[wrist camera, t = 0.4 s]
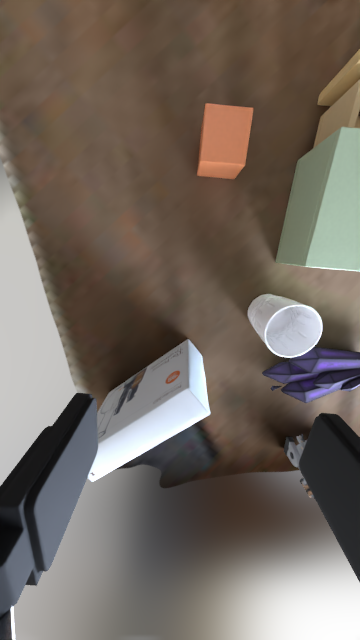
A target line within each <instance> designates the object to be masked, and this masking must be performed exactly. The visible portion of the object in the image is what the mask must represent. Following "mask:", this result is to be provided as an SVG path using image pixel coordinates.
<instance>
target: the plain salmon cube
mask: <svg viewBox="0 0 360 640" xmlns="http://www.w3.org/2000/svg"><path fill="white" fill-rule="evenodd" d="M253 110H254V108H248V107H238V106H228V105H219V104H209V103H206V104H205V110H204V116H203V122H202V128H201V137H200V148H199V158H198V169H197V176H206V177H216V178H227V179H235V178H236V176H237V175H238V174H239V172H240V171H241V170H242V168H243V167H244V166H245V162H246V155H247V149H248V142H249V136H250V129H251V123H252V116H253Z"/></svg>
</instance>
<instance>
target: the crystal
mask: <svg viewBox="0 0 360 640" xmlns="http://www.w3.org/2000/svg"><path fill="white" fill-rule="evenodd" d="M262 374H263V375H264V376H266V377H269V378H271V379H274V380H276V381H278V382H281V383H283V384H286V383H288V384H287V385H286V386H285V387H283V388H282V389H281V391H282V392H283V393H285V394H287V395H289V396H292V397H294V398H296V399H298V400H300V401H302V402H304V403H308V402H310V401H313V400H315V399H318V398H320V397H322V396H325V395H327V394H330V393H332V392H335V391H337V390H344V391H351V390H353V389H355V388H356V387H358V386H360V352H352V351H344V350H336V349H328V348H320V347H313V348H312V349H310V350H309V351H308V352H306V353H304V354H302V355H300V356H296V357H293V358H291V359H290V360H289V362H280V363H278V364H276V365H275V366H273V367H271V368H269V369H267V370H266V371H264V372H263V373H262ZM279 387H281V386H272V387H271V390H272V391H273V390H275V389H277V388H279Z"/></svg>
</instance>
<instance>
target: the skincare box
mask: <svg viewBox="0 0 360 640" xmlns="http://www.w3.org/2000/svg"><path fill="white" fill-rule="evenodd" d="M208 415H210V409H209V404H208V397H207V390H206V379H205V373H204V367H203V357H202V355H201V354H200V353H199V351H198V350H197V349H196V347H195V346H194V345H193V344H192V342H191V341H190V340H189V339H187V340H186V341H184V342H183V343H181V344H180V345H178V346H177V347H175V348H174V349H172V350H171V351H169V352H168V353H166V354H165V355H163V356H162V357H160V358H159V359H157V360H156V361H155V362H153V363H152V364H150V365H149V366H147V367H146V368H144V369H143V370H141V371H140V372H138V373H137V374H135V375H134V376H132V377H131V378H130V379H128V380H127V381H125V382H124V383H122V384H121V385H119V386H118V387H116V388H115V389H113V390H112V391H110V392H109V393H108V395H107V397H106V399H105V401H104V402H103V404H102V406H101V408H100V409H99V411H98V413H97V430H98V451H97V455H96V457H95V460H94V462H93V465H92V467H91V470H90V472H89V474H88V477H87V478H88V479H89V480H90V481H92V482H93V481H95V480H97V479H98V478H100V477H102V476H104V475H106V474H107V473H109V472H111V471H113V470H114V469H116V468H118V467H120V466H121V465H123V464H125V463H126V462H128V461H130V460H132V459H133V458H135V457H137V456H139V455H140V454H142V453H144V452H146V451H147V450H149V449H151V448H153V447H154V446H156V445H158V444H159V443H161V442H163V441H165V440H166V439H168V438H170V437H172V436H173V435H175V434H177V433H179V432H180V431H182V430H184V429H186V428H187V427H189V426H191V425H192V424H194V423H196V422H198V421H199V420H201V419H203V418H205V417H206V416H208Z"/></svg>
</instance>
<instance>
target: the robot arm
mask: <svg viewBox="0 0 360 640" xmlns="http://www.w3.org/2000/svg"><path fill="white" fill-rule="evenodd" d="M97 451H98V430H97V406H96V398H92V394H84V393H76V394H75V395H74V397H73V398H72V400H71V401H70V402H69V404H68V405H67V407H66V408H65V409H64V411H63V412H62V413H61V415H60V416H59V417H58V419H57V420H56V422H55V423H54V424H53V426H48V427H47V428H45V429H44V430H43V431H42V433H41V434H40V435H39V436H38V438H37V439H36V440H35V442H34V443H33V444H32V445H31V447H30V448H29V449H28V451H27V452H26V453H25V455H24V456H23V457H22V459H21V460H20V461H19V463H18V464H17V465H16V467H15V468H14V469H13V470H12V472H11V473H10V474H9V476H8V477H7V479H6V480H5V481H4V482H3V484H2V485H1V486H0V640H15V629H14V613H13V606H14V605H15V604H16V603H17V601H18V599H19V597H20V595H21V593H22V590H23V588H24V586H25V585H37V583H38V581H39V579H40V577H41V574H42V572H43V571H47V570H48V569H49V568H50V566H51V564H52V562H53V560H54V557H55V554H56V552H57V550H58V547H59V545H60V542H61V540H62V537H63V535H64V533H65V530H66V528H67V525H68V523H69V520H70V518H71V515H72V513H73V511H74V509H75V506H76V504H77V501H78V498H79V496H80V494H81V491H82V489H83V486H84V484H85V482H86V479H87V477H88V474H89V472H90V470H91V467H92V465H93V462H94V460H95V457H96V455H97ZM299 468H300V471H301V473H302V475H303V477H304V479H305V481H306V482H307V484H308V486H309V488H310V490H311V492H312V494H313V496H314V497H315V499H316V501H317V503H318V505H319V507H320V509H321V510H322V512H323V514H324V516H325V518H326V520H327V522H328V524H329V526H330V527H331V529H332V531H333V533H334V535H335V537H336V539H337V541H338V542H339V544H340V546H341V548H342V550H343V552H344V554H345V556H346V557H347V559H348V561H349V563H350V565H351V567H352V569H353V571H354V572H355V574H356V576H357V578H358V580H359V581H360V437H359V436H358V435H357V434H356V433H355V432H354V431H353V430H352V429H351V428H350V427H349V426H348V425H347V424H346V423H345V422H344V420H343V419H342V418H341V417H340V416H338V415H336V414H327V413H321V414H320V415H319V416H318V417H316V418H315V421H314V423H313V426H312V429H311V431H310V434H309V437H308V439H307V442H306V445H305V447H304V450H303V453H302V455H301V458H300V460H299Z"/></svg>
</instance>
